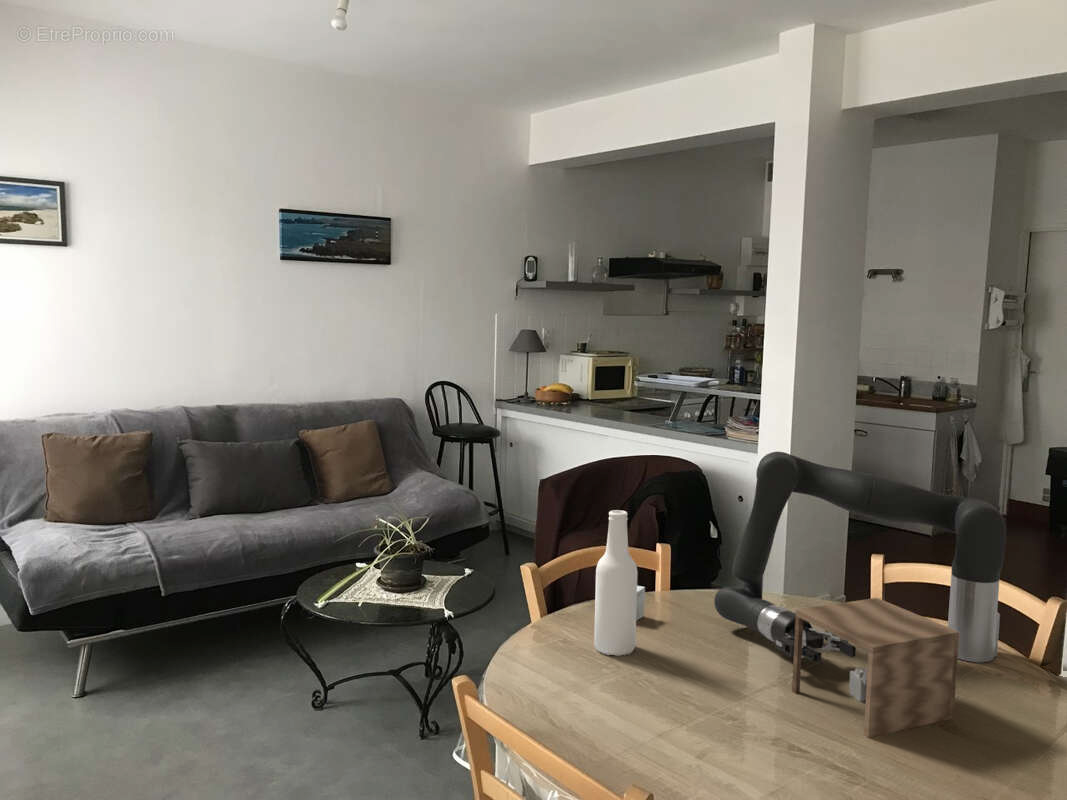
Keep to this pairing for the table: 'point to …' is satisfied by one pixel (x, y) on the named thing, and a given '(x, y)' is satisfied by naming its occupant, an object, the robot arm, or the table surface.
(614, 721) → the table surface
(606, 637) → the alcohol
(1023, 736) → the table surface
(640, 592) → the product box
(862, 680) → the lighter
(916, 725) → the open side box
